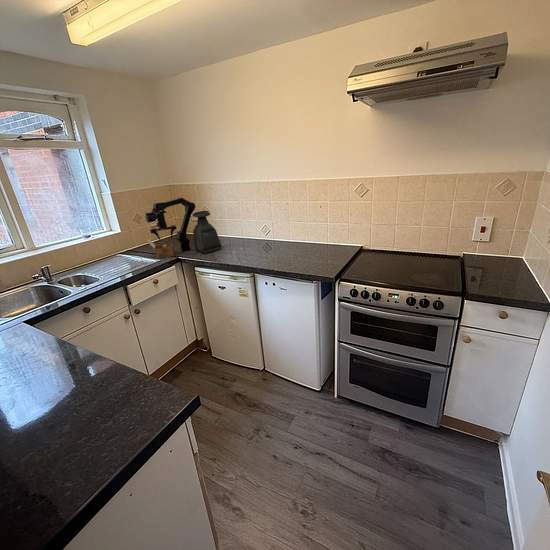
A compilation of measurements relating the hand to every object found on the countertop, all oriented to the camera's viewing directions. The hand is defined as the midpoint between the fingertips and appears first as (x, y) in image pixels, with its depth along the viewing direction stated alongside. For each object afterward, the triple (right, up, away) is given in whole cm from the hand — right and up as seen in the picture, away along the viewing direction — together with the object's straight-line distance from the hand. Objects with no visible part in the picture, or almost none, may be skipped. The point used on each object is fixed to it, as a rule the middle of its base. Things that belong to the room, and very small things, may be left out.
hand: (166, 239), depth 230 cm
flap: (-10, -3, -3) cm, 11 cm away
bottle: (+31, -8, +4) cm, 33 cm away
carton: (-2, -12, +4) cm, 12 cm away
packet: (0, -7, +3) cm, 8 cm away
